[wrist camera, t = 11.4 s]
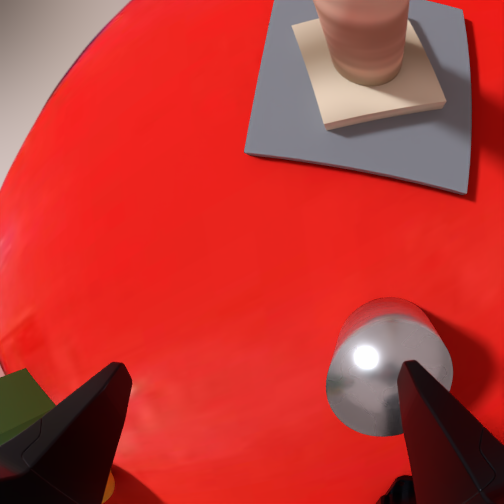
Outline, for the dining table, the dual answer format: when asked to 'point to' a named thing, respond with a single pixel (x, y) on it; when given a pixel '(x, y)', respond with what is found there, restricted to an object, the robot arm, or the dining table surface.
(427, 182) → the mat
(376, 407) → the steel tin
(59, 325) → the dining table surface
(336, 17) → the beige stacked pedestal
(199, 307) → the dining table surface
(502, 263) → the dining table surface
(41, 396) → the hardback book
